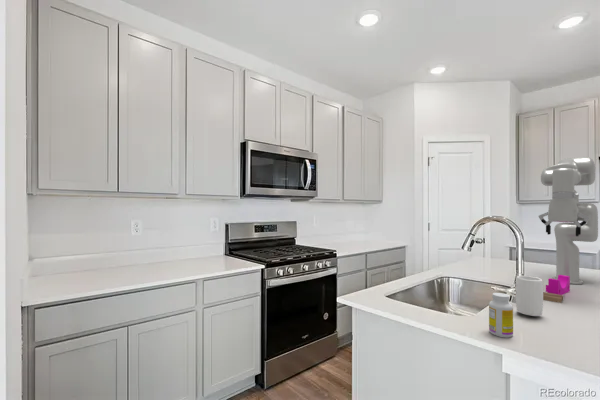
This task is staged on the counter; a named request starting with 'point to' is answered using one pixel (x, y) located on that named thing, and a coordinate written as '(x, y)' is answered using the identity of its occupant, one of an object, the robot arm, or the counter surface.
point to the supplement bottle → (501, 315)
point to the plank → (552, 297)
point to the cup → (529, 295)
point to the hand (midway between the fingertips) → (562, 235)
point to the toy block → (558, 285)
